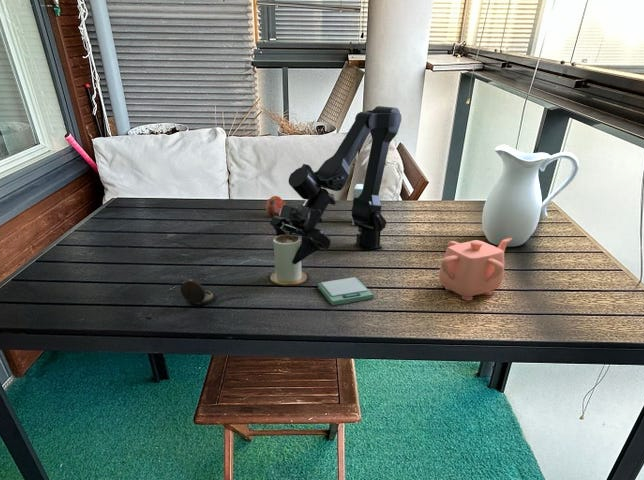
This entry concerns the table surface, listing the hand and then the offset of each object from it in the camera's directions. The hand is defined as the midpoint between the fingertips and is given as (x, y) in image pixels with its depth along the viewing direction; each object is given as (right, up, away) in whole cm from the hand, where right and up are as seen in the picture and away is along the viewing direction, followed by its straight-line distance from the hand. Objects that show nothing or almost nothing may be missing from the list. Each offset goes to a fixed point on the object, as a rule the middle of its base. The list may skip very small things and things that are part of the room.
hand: (284, 259), depth 129 cm
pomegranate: (-7, +27, +51) cm, 58 cm away
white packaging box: (+25, +22, +43) cm, 55 cm away
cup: (+1, -4, +4) cm, 5 cm away
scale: (+16, -9, -4) cm, 19 cm away
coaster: (+1, -4, +4) cm, 6 cm away
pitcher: (+73, +11, +26) cm, 78 cm away
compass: (-21, -12, -7) cm, 25 cm away
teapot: (+49, -9, -3) cm, 50 cm away
